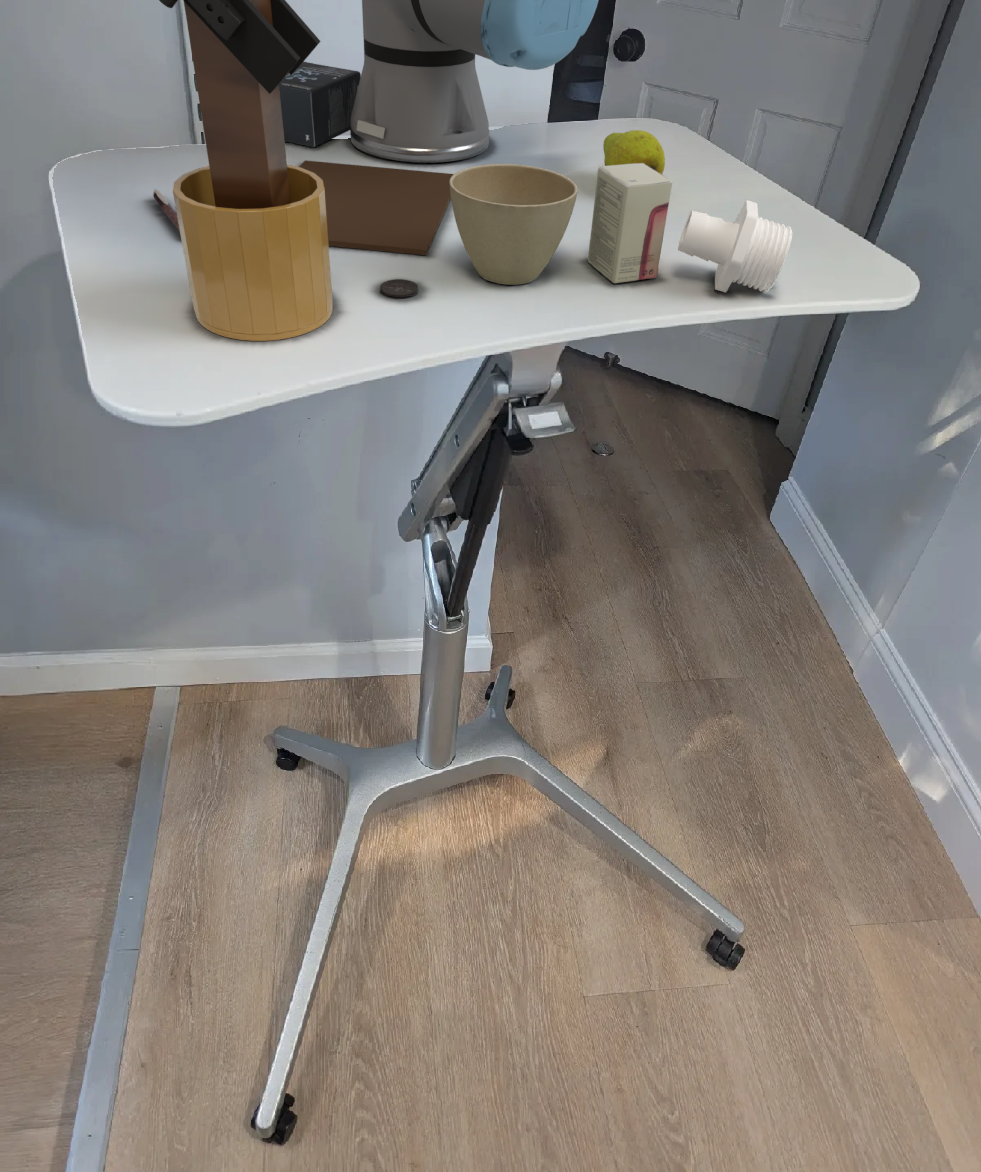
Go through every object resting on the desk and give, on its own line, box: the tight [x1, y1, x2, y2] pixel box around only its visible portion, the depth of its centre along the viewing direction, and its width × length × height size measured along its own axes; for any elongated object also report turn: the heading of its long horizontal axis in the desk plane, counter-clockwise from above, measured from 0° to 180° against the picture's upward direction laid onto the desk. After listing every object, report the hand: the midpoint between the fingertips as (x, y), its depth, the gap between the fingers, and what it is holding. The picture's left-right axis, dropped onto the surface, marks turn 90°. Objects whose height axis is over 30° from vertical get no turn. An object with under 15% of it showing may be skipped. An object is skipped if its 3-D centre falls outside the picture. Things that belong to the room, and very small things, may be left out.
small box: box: [587, 163, 673, 284], centre depth 73 cm, size 5×4×8 cm
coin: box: [379, 278, 419, 298], centre depth 71 cm, size 3×1×3 cm
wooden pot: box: [172, 164, 334, 342], centre depth 64 cm, size 10×10×9 cm
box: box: [279, 61, 362, 148], centre depth 99 cm, size 8×6×11 cm
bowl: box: [450, 163, 579, 286], centre depth 72 cm, size 10×10×7 cm
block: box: [183, 0, 291, 209], centre depth 57 cm, size 4×4×18 cm
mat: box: [298, 160, 455, 256], centre depth 84 cm, size 20×16×1 cm
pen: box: [152, 189, 180, 232], centre depth 79 cm, size 11×1×1 cm, turn 29°
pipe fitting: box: [677, 199, 793, 294], centre depth 73 cm, size 6×7×8 cm
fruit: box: [603, 129, 666, 175], centre depth 91 cm, size 6×6×12 cm
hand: (295, 66), depth 56 cm, fingers closed on block, 4 cm apart
